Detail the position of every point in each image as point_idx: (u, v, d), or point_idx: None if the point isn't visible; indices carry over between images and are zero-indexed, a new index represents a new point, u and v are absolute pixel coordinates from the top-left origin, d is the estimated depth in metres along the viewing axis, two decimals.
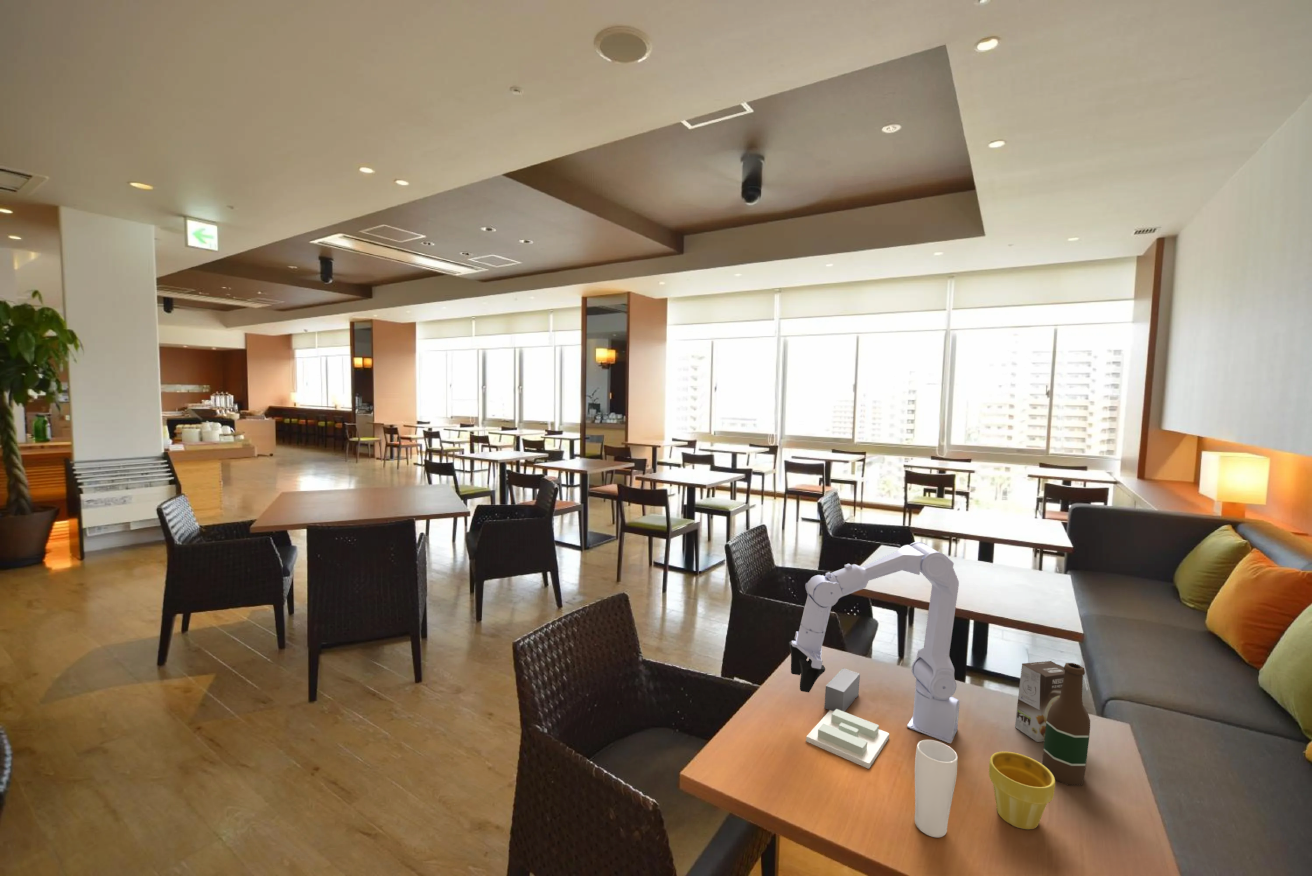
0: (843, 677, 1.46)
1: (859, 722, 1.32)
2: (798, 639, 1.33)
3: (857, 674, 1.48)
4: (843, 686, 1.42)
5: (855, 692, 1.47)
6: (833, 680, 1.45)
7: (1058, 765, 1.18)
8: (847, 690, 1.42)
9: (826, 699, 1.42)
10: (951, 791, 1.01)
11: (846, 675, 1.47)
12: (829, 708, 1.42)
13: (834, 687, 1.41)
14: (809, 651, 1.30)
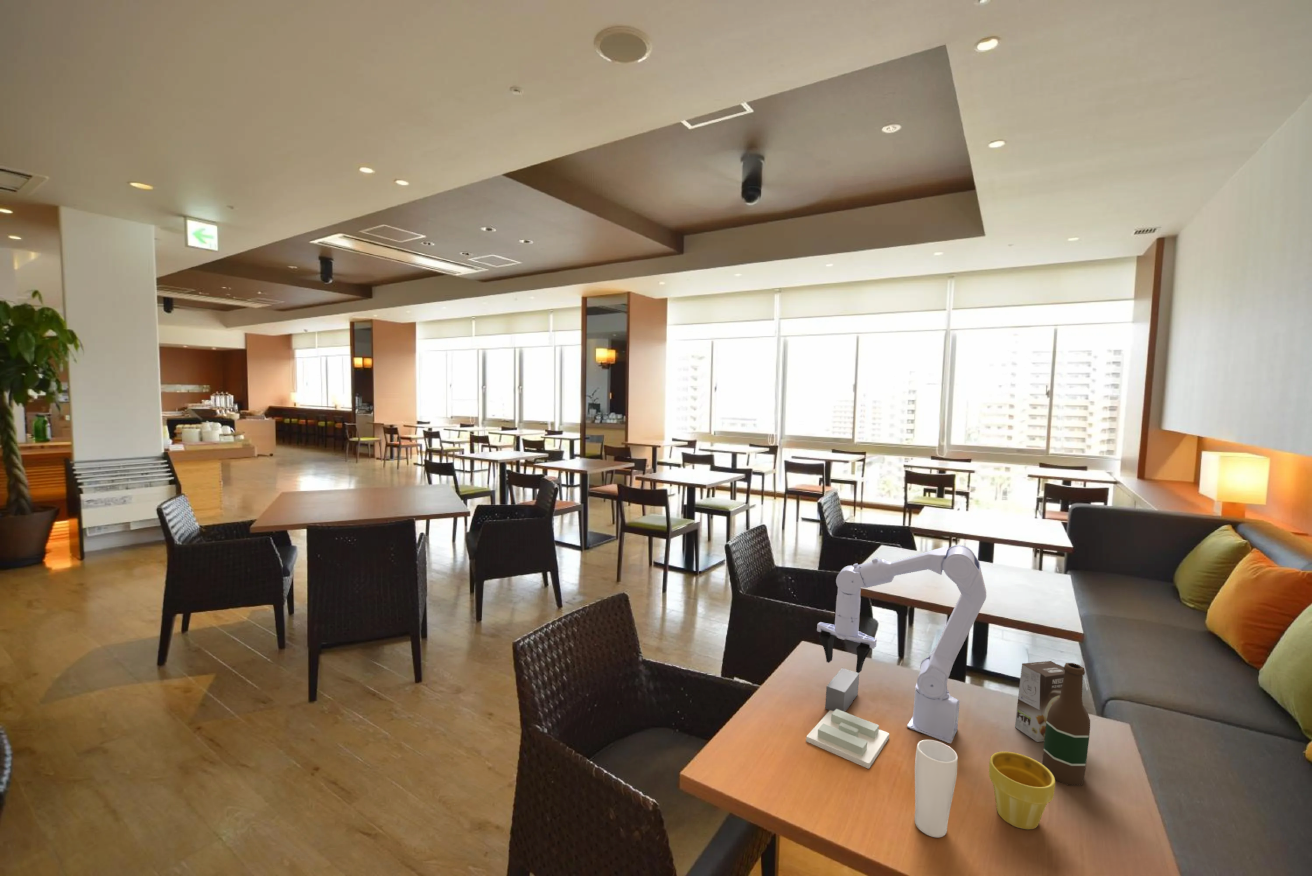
0: (843, 677, 1.46)
1: (859, 722, 1.32)
2: (843, 631, 1.42)
3: (856, 674, 1.48)
4: (843, 686, 1.42)
5: (855, 692, 1.47)
6: (833, 680, 1.45)
7: (1058, 765, 1.18)
8: (848, 690, 1.42)
9: (827, 699, 1.42)
10: (951, 791, 1.01)
11: (846, 675, 1.48)
12: (830, 708, 1.42)
13: (835, 687, 1.41)
14: (856, 636, 1.42)
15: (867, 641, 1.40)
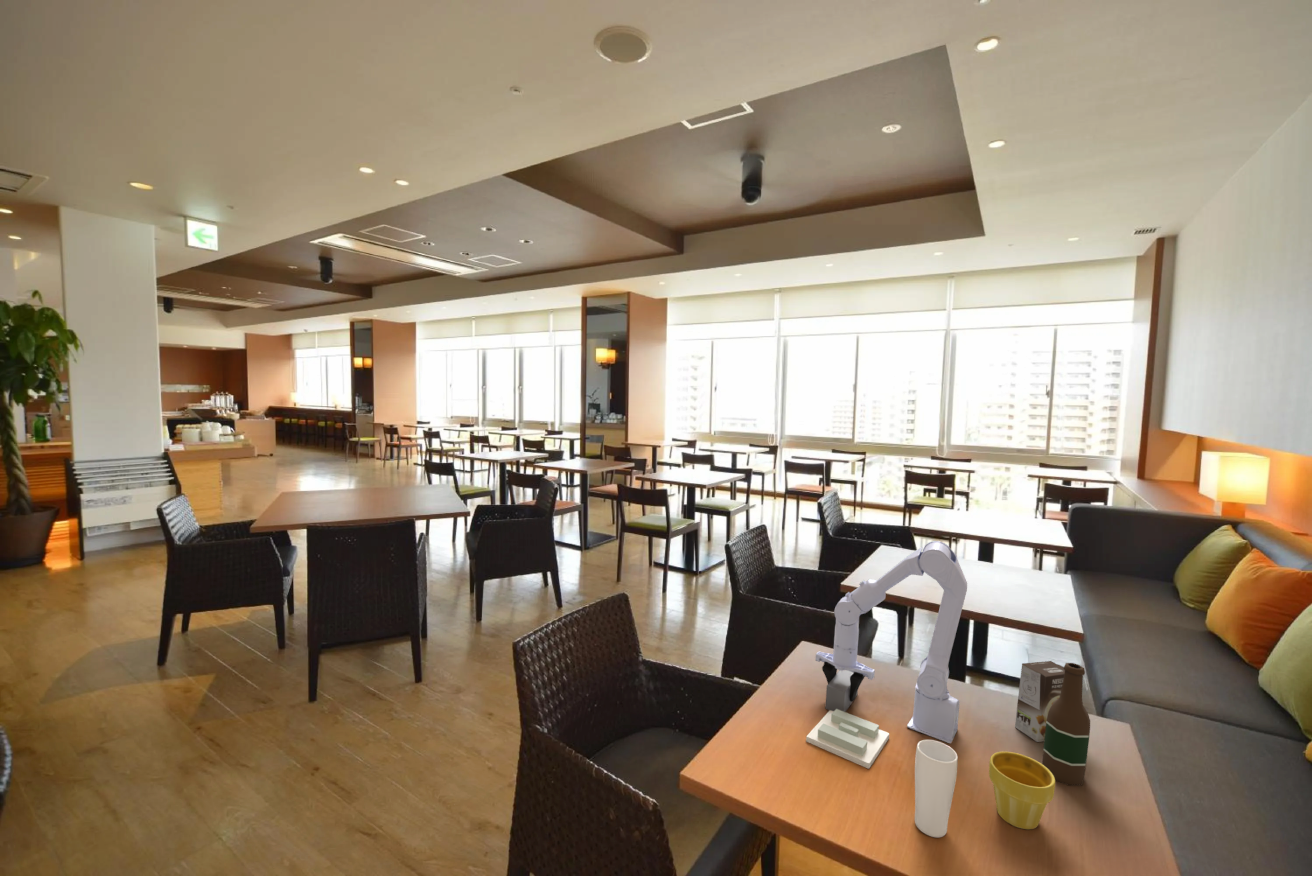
0: (843, 677, 1.46)
1: (859, 722, 1.32)
2: (841, 661, 1.42)
3: None
4: (844, 686, 1.42)
5: None
6: (833, 680, 1.45)
7: (1058, 765, 1.18)
8: (848, 690, 1.41)
9: (827, 699, 1.42)
10: (951, 791, 1.01)
11: (846, 674, 1.48)
12: (830, 708, 1.41)
13: (835, 687, 1.41)
14: (855, 667, 1.43)
15: (865, 672, 1.40)
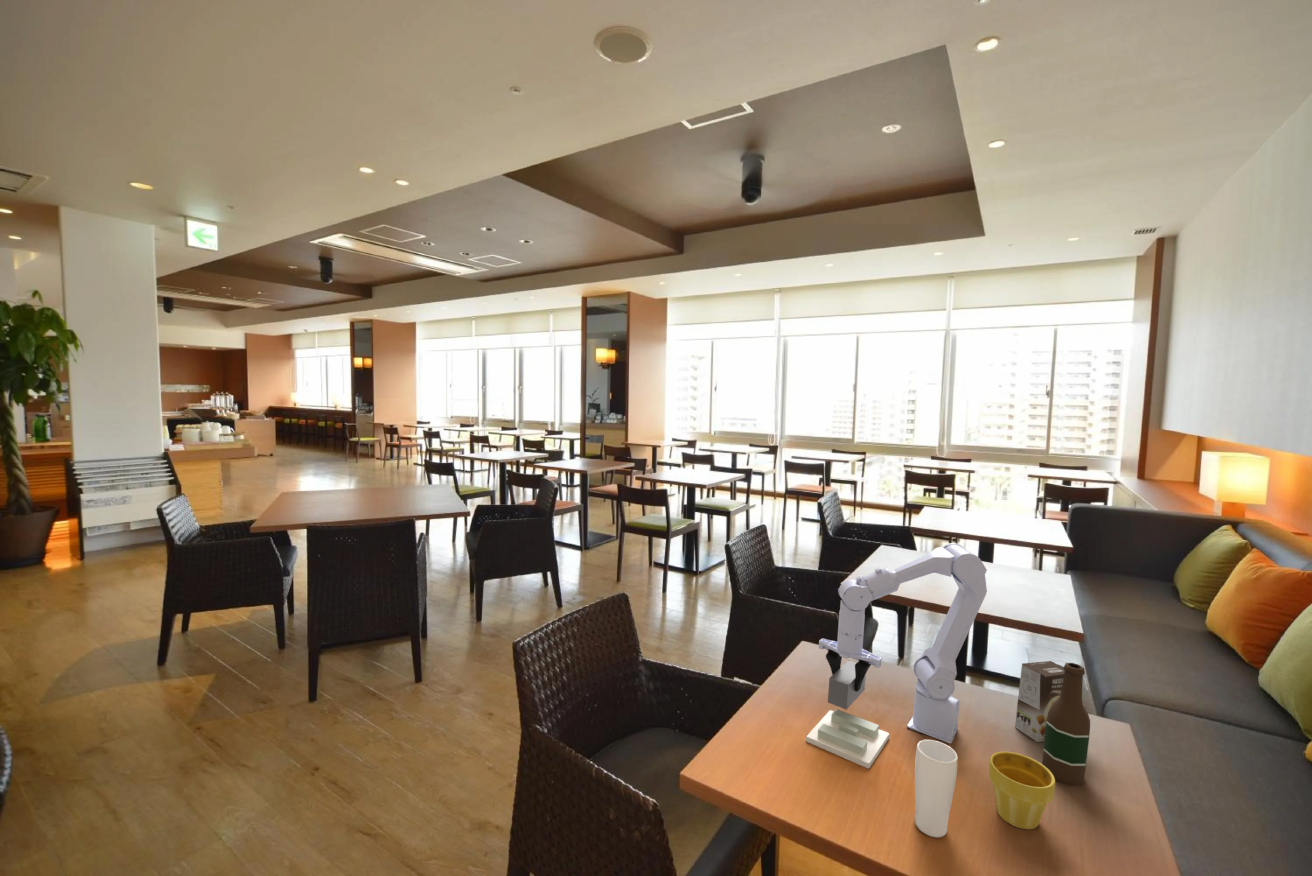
0: (849, 670, 1.38)
1: (859, 722, 1.32)
2: (846, 649, 1.34)
3: None
4: (848, 679, 1.34)
5: (861, 686, 1.39)
6: (837, 672, 1.37)
7: (1058, 765, 1.18)
8: (852, 683, 1.33)
9: (830, 692, 1.34)
10: (951, 791, 1.01)
11: (852, 668, 1.39)
12: (833, 702, 1.34)
13: (838, 680, 1.33)
14: (860, 654, 1.34)
15: (871, 660, 1.32)
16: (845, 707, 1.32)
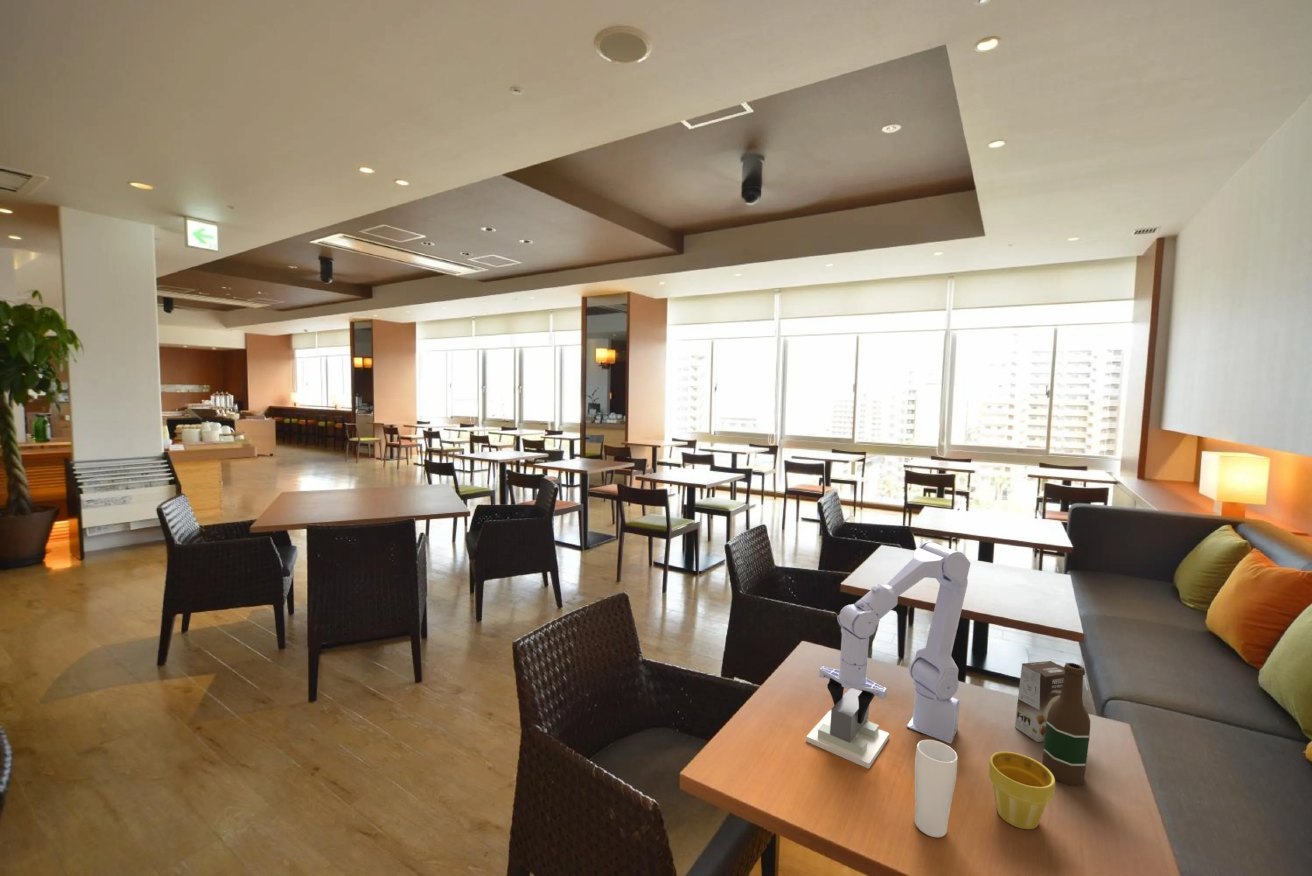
0: (851, 699, 1.30)
1: None
2: (849, 679, 1.26)
3: None
4: (851, 710, 1.26)
5: None
6: (840, 702, 1.29)
7: (1058, 765, 1.18)
8: (856, 714, 1.25)
9: (832, 724, 1.26)
10: (951, 791, 1.01)
11: (854, 696, 1.31)
12: (835, 734, 1.26)
13: (841, 711, 1.25)
14: (864, 685, 1.26)
15: (876, 691, 1.24)
16: (848, 740, 1.24)
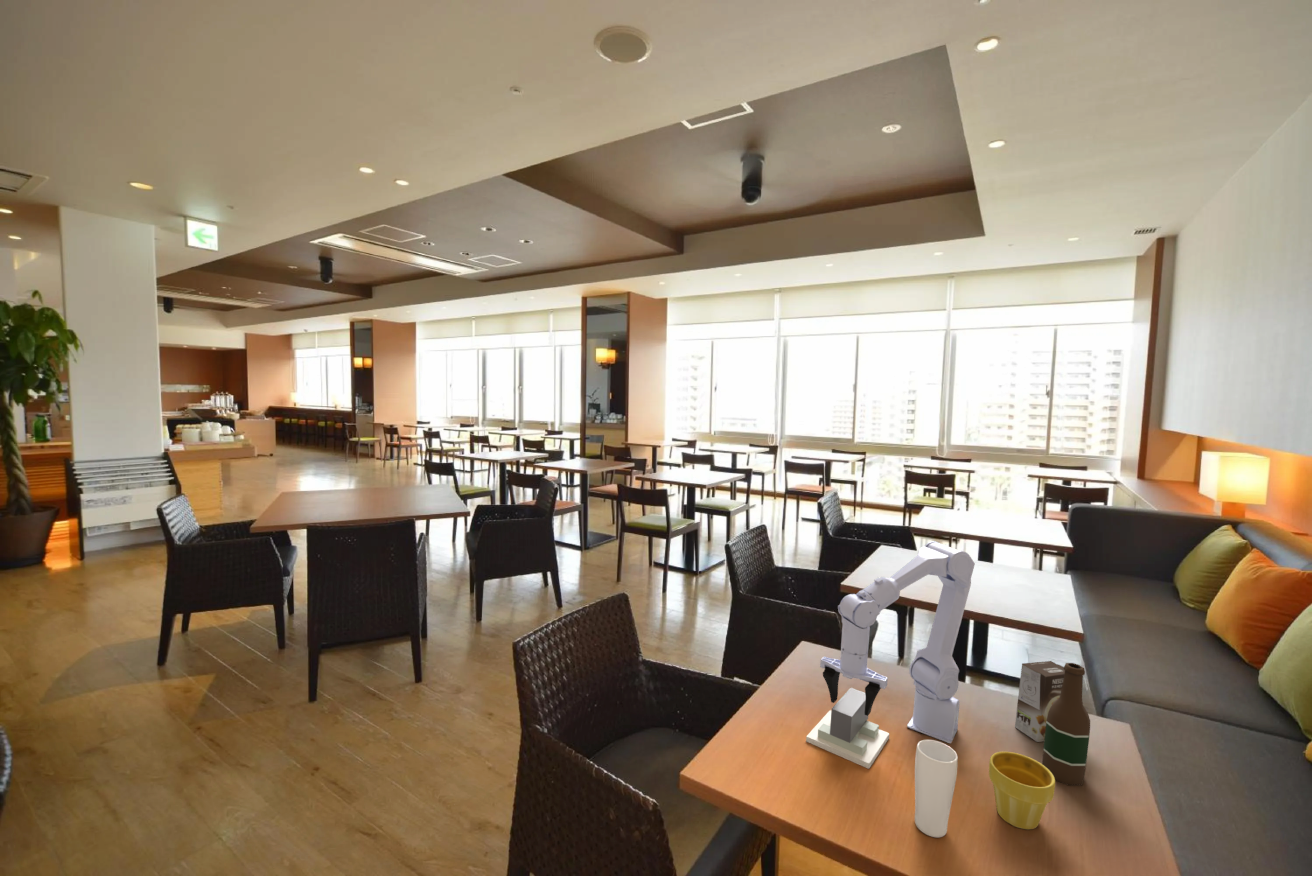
0: (851, 699, 1.30)
1: None
2: (850, 668, 1.26)
3: None
4: (851, 710, 1.26)
5: (864, 715, 1.31)
6: (840, 702, 1.29)
7: (1058, 765, 1.18)
8: (856, 714, 1.25)
9: (832, 724, 1.26)
10: (951, 791, 1.01)
11: (854, 696, 1.31)
12: (835, 734, 1.26)
13: (841, 711, 1.25)
14: (865, 674, 1.26)
15: (877, 680, 1.24)
16: (848, 740, 1.24)
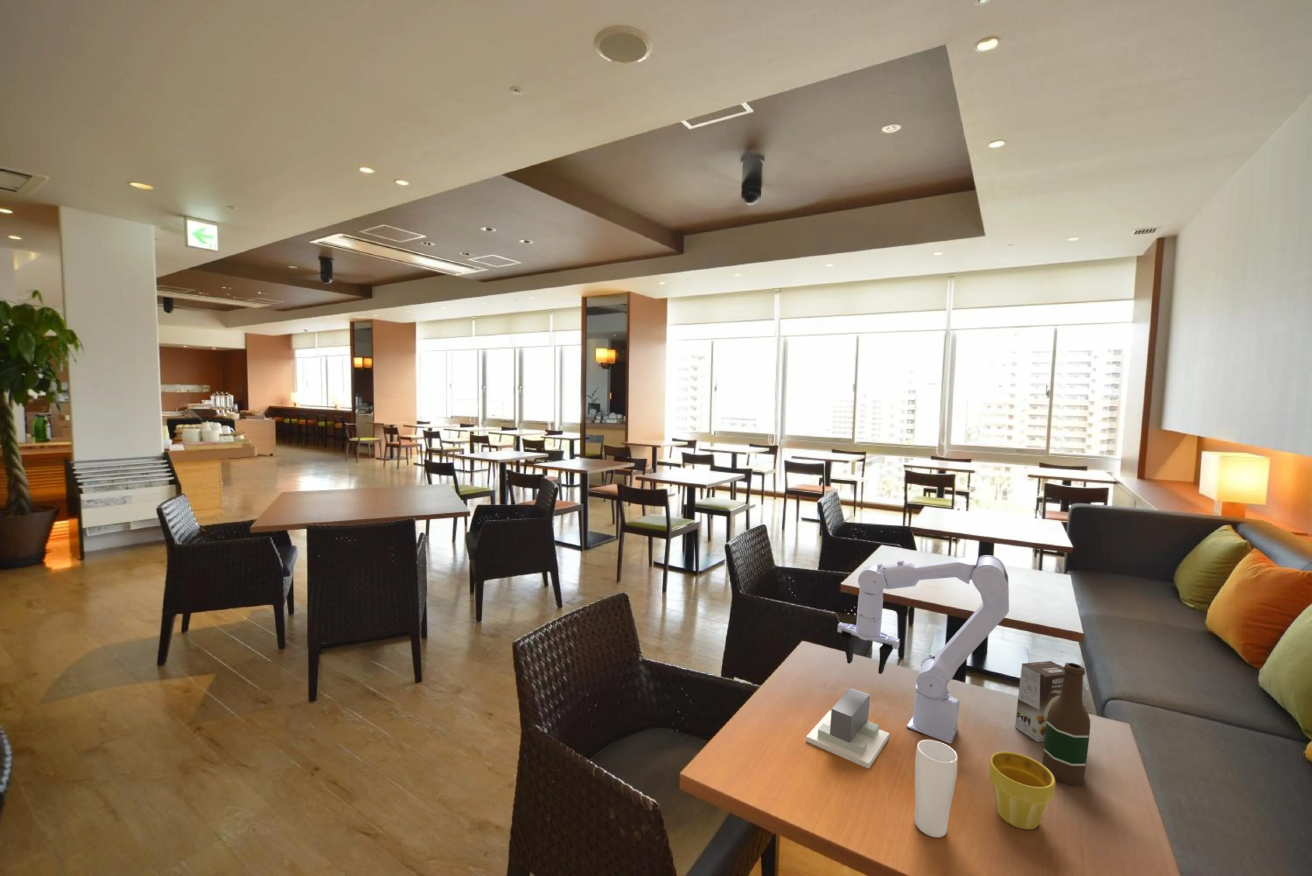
0: (851, 699, 1.30)
1: None
2: (866, 631, 1.39)
3: (867, 695, 1.32)
4: (851, 710, 1.26)
5: (864, 715, 1.31)
6: (840, 702, 1.29)
7: (1058, 765, 1.18)
8: (856, 714, 1.25)
9: (832, 724, 1.26)
10: (951, 791, 1.01)
11: (854, 696, 1.31)
12: (835, 734, 1.26)
13: (841, 711, 1.25)
14: (879, 636, 1.40)
15: (890, 642, 1.38)
16: (848, 740, 1.24)
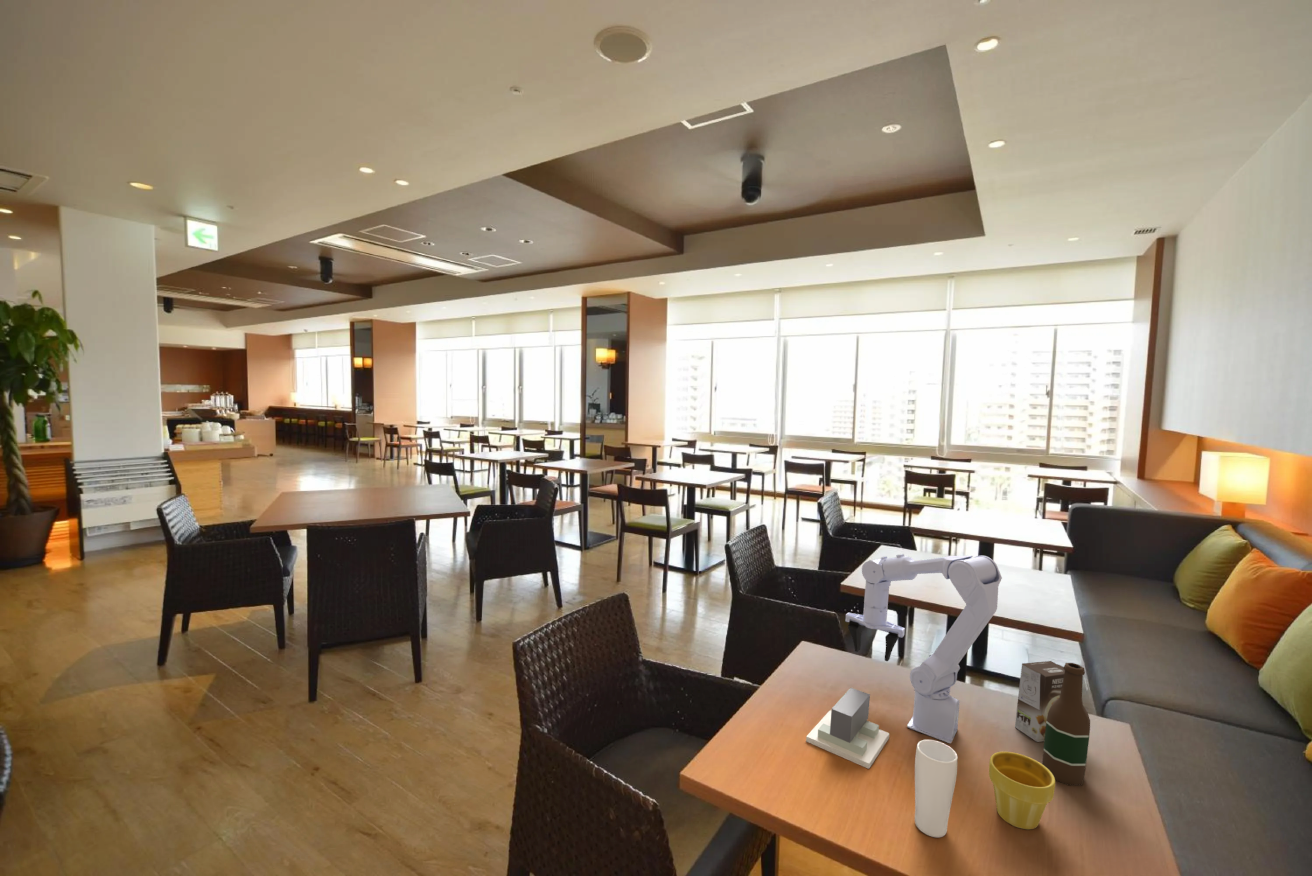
0: (851, 699, 1.30)
1: None
2: (872, 620, 1.46)
3: (867, 695, 1.32)
4: (851, 710, 1.26)
5: (864, 715, 1.31)
6: (840, 702, 1.29)
7: (1058, 765, 1.18)
8: (856, 714, 1.25)
9: (832, 724, 1.26)
10: (951, 791, 1.01)
11: (854, 696, 1.31)
12: (835, 734, 1.26)
13: (841, 711, 1.25)
14: (885, 625, 1.46)
15: (896, 630, 1.44)
16: (848, 740, 1.24)
